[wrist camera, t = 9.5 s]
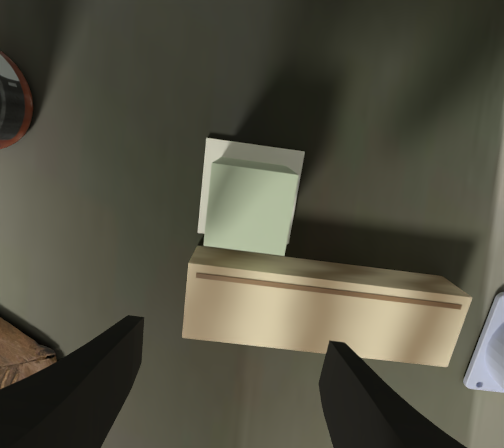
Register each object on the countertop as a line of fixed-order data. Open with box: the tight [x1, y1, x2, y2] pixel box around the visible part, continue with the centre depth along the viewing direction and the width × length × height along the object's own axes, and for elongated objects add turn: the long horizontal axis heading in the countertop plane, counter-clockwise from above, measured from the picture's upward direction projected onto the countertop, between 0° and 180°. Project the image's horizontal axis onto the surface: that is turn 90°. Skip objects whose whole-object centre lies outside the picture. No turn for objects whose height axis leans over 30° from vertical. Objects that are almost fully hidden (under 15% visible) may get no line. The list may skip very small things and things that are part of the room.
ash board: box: [182, 246, 472, 367], centre depth 20 cm, size 17×5×3 cm, turn 82°
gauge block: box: [203, 157, 299, 256], centre depth 17 cm, size 4×4×5 cm
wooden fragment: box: [0, 317, 57, 389], centre depth 24 cm, size 26×11×1 cm, turn 21°
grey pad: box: [198, 138, 305, 244], centre depth 19 cm, size 6×6×1 cm
